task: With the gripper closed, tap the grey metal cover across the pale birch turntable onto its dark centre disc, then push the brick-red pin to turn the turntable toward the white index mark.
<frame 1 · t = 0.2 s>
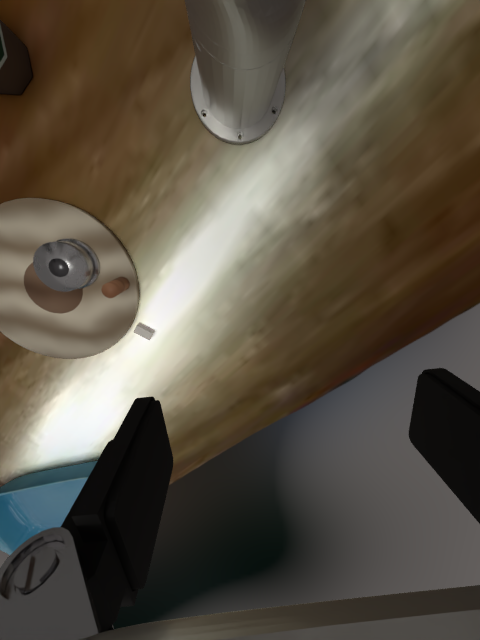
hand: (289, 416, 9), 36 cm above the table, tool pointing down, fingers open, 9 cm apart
beer bottle: (4, 62, 34), on the table
index mark: (145, 329, 47), on the table
casserole dish: (83, 491, 60), on the table
cover: (74, 263, 41), point 2 cm above the table, touching turntable
turntable: (46, 289, 40), point 3 cm above the table, hinge at -0.4°, touching cover
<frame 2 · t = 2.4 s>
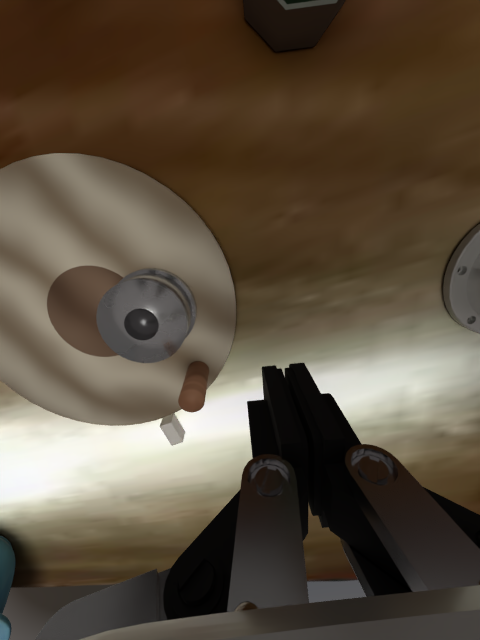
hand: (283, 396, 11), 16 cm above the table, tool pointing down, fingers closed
index mark: (174, 424, 31), on the table
cover: (155, 308, 24), point 2 cm above the table, touching turntable
turntable: (87, 320, 23), point 3 cm above the table, hinge at -0.4°, touching cover
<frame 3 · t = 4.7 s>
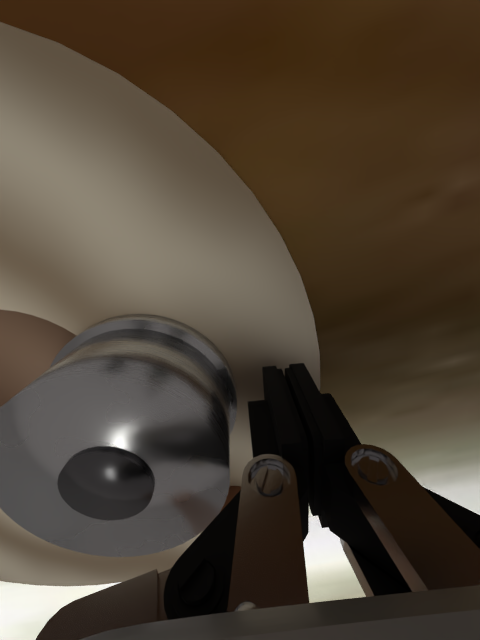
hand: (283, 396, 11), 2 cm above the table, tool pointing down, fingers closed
cover: (149, 396, 11), point 2 cm above the table, touching gripper, turntable
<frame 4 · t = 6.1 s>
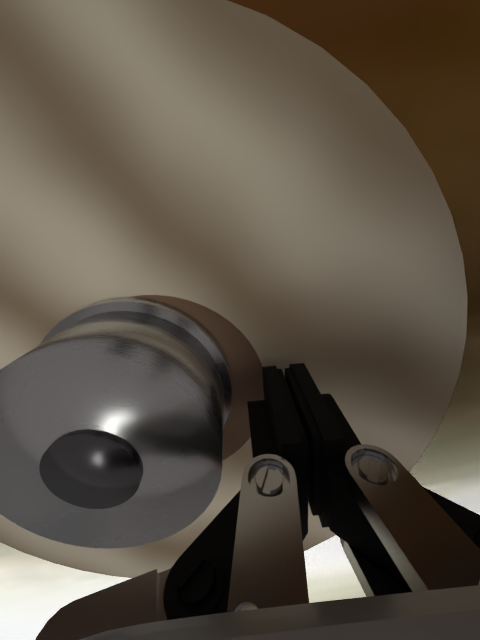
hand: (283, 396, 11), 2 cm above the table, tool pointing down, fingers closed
cover: (141, 384, 11), point 2 cm above the table, touching gripper, turntable
turntable: (150, 426, 10), point 3 cm above the table, hinge at 0.5°, touching cover
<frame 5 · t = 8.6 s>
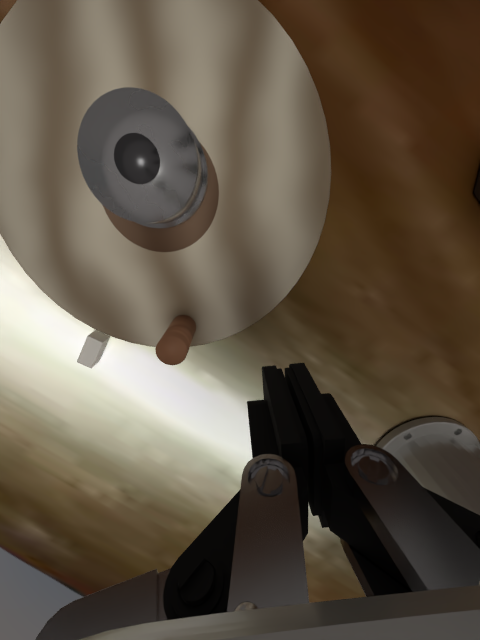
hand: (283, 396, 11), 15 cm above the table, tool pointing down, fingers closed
index mark: (97, 345, 25), on the table
cover: (156, 173, 19), point 2 cm above the table, touching turntable
turntable: (152, 187, 18), point 3 cm above the table, hinge at 0.5°, touching cover
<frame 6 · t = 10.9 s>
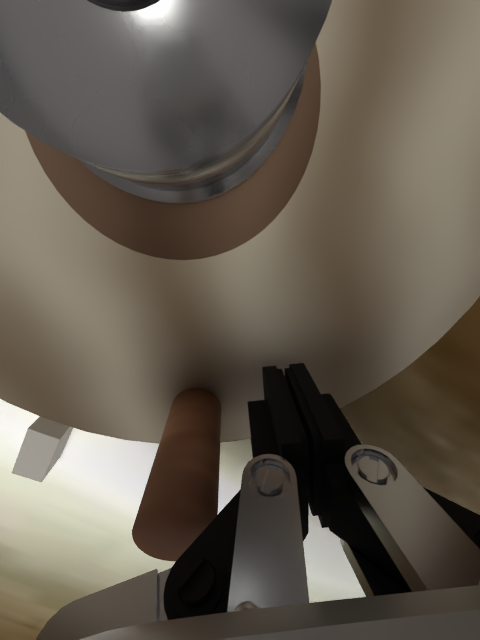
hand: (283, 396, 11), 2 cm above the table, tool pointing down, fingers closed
index mark: (55, 432, 14), on the table
cover: (169, 59, 7), point 2 cm above the table, touching turntable
turntable: (157, 75, 6), point 3 cm above the table, hinge at -5.2°, touching cover, gripper
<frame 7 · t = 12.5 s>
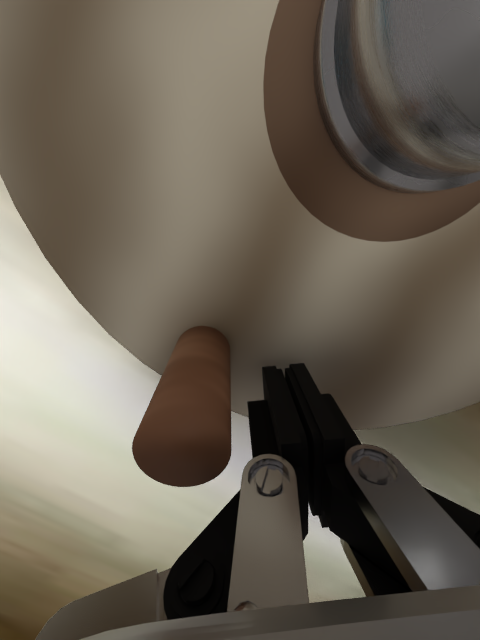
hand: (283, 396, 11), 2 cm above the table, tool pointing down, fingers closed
cover: (442, 49, 8), point 2 cm above the table, touching turntable
turntable: (460, 49, 6), point 3 cm above the table, hinge at -42.7°, touching cover
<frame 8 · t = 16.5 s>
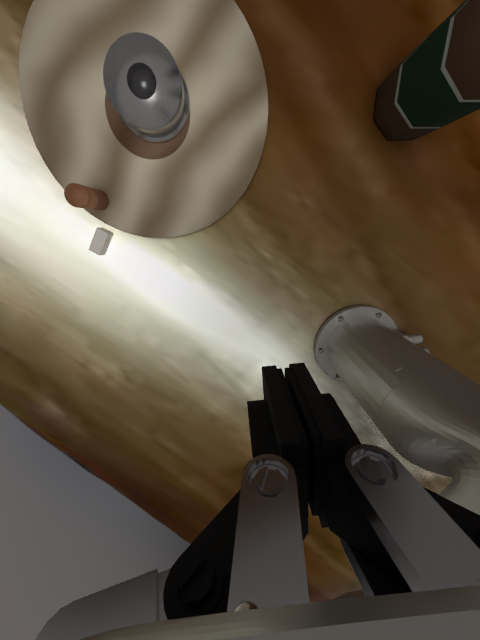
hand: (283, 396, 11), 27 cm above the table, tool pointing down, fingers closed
beer bottle: (402, 105, 30), on the table
index mark: (103, 241, 34), on the table
cover: (154, 101, 28), point 2 cm above the table, touching turntable
turntable: (143, 104, 26), point 3 cm above the table, hinge at -42.7°, touching cover
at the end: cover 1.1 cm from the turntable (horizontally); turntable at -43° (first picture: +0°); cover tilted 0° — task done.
